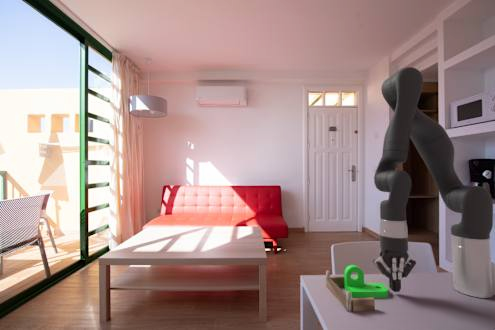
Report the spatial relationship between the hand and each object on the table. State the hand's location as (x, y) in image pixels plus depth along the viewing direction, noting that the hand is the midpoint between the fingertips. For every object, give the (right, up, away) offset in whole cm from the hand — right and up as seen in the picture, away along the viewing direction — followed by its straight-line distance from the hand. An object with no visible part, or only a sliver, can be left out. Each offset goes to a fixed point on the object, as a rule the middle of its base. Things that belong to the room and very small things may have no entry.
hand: (395, 290), depth 78 cm
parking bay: (-15, -1, -1) cm, 15 cm away
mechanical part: (-8, -2, +1) cm, 8 cm away
